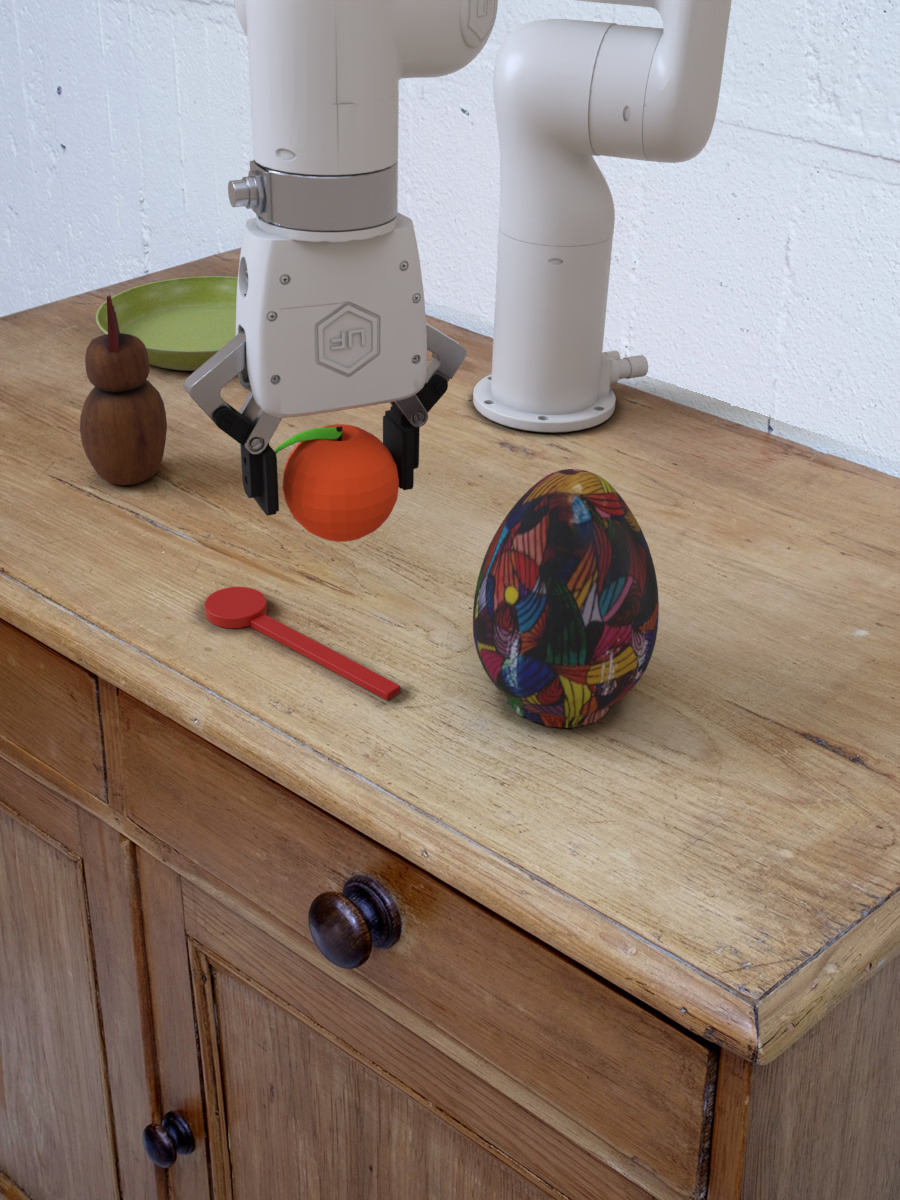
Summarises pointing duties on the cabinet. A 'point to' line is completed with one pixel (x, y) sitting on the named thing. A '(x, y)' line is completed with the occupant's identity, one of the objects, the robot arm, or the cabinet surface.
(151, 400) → the wooden figurine
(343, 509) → the clementine
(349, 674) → the spoon
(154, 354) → the saucer
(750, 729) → the cabinet surface
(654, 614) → the egg
